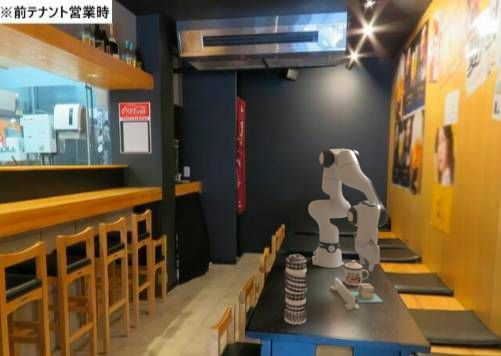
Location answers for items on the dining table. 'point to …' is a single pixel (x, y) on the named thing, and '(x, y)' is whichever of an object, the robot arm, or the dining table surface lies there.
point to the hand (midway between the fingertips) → (366, 267)
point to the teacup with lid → (353, 273)
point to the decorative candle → (295, 289)
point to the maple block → (366, 291)
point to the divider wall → (345, 295)
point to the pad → (360, 300)
